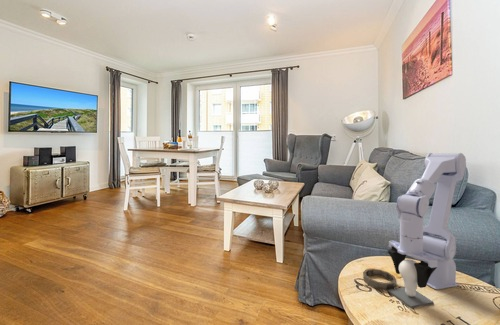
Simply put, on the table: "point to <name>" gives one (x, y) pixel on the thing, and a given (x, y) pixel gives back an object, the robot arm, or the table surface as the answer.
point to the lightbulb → (409, 276)
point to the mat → (410, 298)
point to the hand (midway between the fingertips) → (410, 279)
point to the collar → (379, 284)
